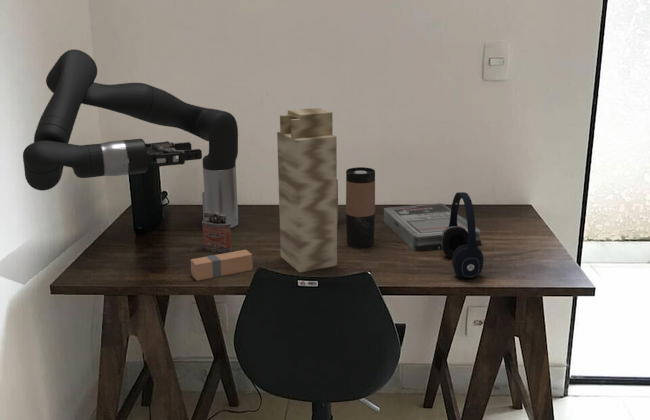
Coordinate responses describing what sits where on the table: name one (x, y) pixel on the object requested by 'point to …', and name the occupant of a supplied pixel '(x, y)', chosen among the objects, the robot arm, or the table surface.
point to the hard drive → (422, 224)
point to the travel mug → (360, 207)
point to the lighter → (216, 232)
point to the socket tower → (307, 189)
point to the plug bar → (221, 264)
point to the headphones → (462, 241)
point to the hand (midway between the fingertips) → (196, 150)
